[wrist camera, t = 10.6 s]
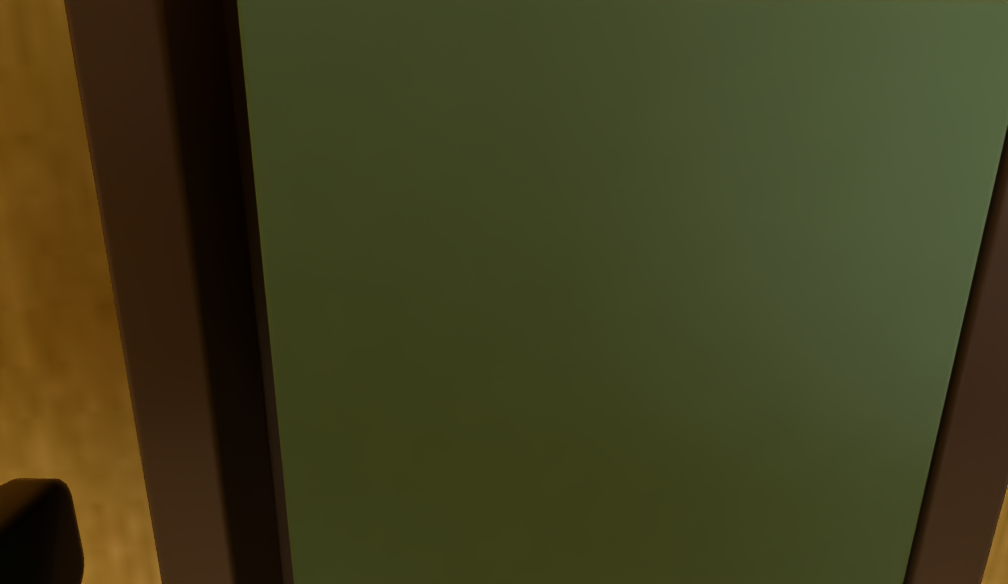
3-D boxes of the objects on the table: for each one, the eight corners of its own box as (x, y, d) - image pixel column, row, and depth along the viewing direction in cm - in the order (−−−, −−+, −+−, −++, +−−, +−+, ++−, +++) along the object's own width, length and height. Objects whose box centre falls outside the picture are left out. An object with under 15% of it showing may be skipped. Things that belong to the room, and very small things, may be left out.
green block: (743, 665, 13) (826, 932, 10) (370, 663, 13) (326, 931, 9) (849, -45, 9) (1040, -2, 6) (327, -51, 9) (234, -12, 6)
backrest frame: (1049, -246, 9) (1220, -282, 7) (840, 735, 14) (902, 888, 12) (126, -258, 9) (7, -300, 7) (254, 733, 14) (209, 887, 12)
